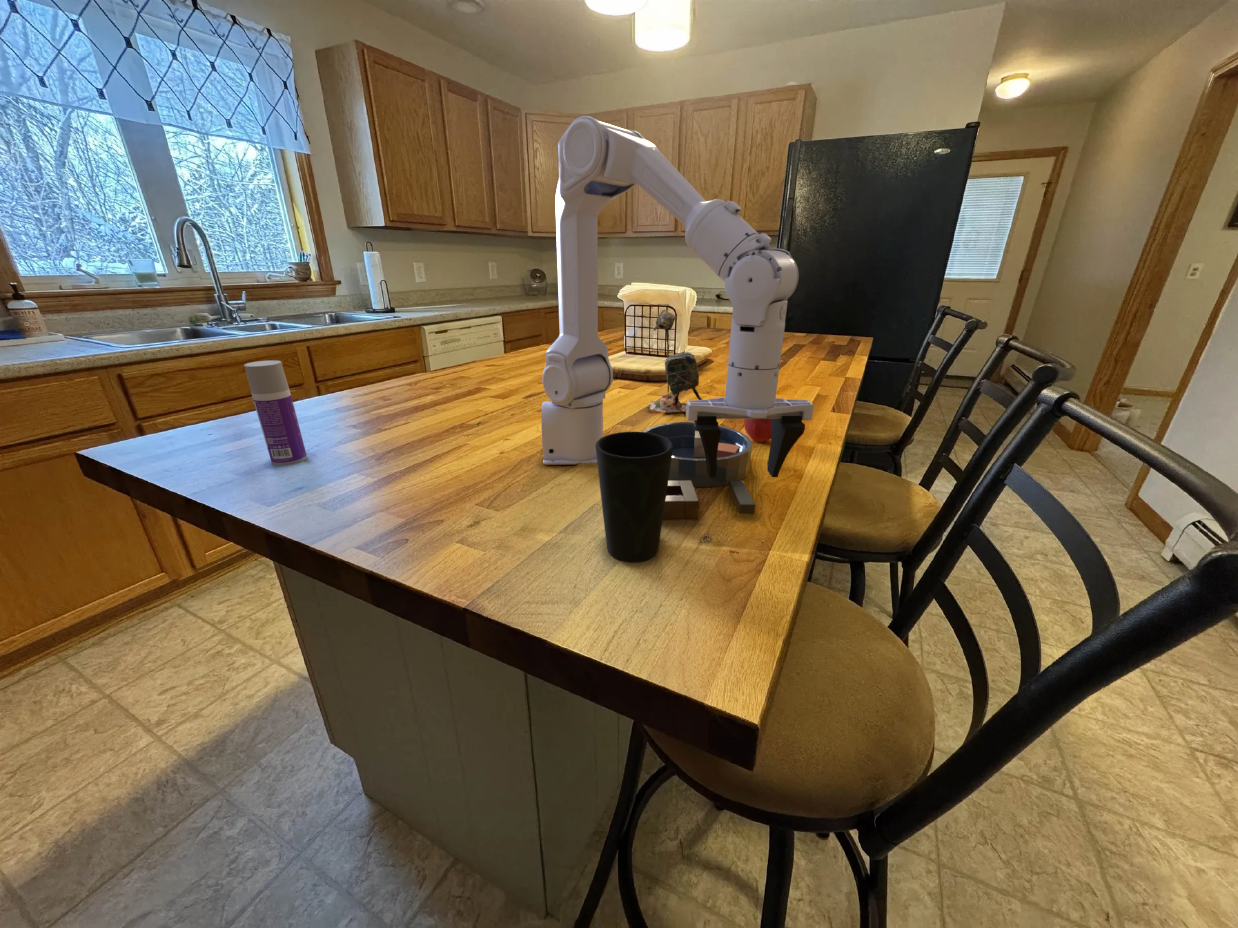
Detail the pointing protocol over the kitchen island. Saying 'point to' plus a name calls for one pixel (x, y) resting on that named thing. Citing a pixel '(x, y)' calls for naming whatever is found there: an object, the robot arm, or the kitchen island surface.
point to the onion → (758, 429)
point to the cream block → (698, 446)
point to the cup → (633, 492)
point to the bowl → (696, 467)
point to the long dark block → (741, 497)
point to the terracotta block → (727, 450)
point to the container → (276, 412)
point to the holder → (681, 501)
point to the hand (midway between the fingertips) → (741, 474)
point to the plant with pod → (676, 372)
